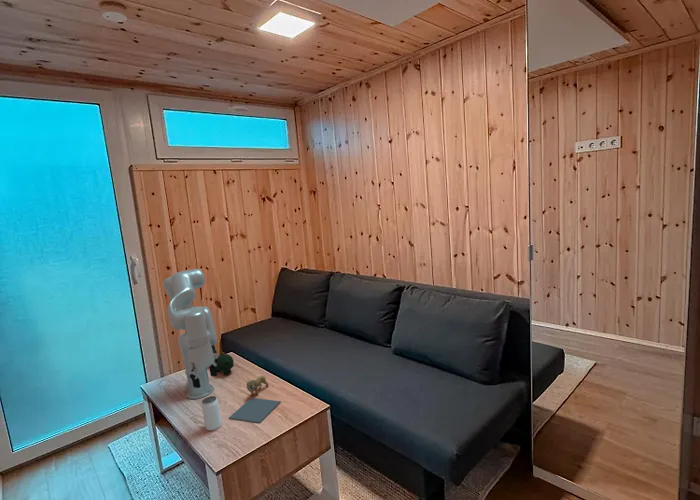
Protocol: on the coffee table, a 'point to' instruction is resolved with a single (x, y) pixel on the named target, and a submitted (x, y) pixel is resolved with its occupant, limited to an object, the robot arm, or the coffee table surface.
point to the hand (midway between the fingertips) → (205, 381)
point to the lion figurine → (256, 384)
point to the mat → (255, 410)
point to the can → (211, 413)
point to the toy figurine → (224, 363)
